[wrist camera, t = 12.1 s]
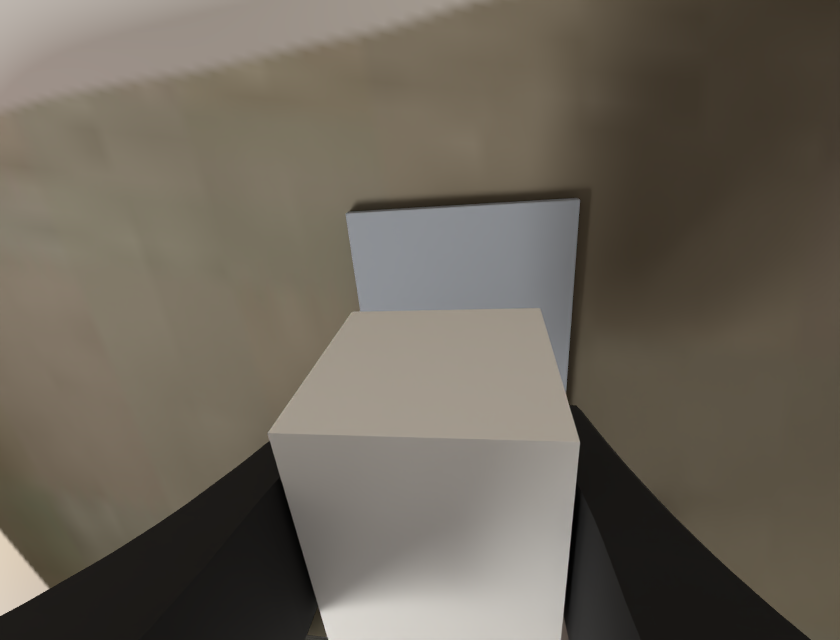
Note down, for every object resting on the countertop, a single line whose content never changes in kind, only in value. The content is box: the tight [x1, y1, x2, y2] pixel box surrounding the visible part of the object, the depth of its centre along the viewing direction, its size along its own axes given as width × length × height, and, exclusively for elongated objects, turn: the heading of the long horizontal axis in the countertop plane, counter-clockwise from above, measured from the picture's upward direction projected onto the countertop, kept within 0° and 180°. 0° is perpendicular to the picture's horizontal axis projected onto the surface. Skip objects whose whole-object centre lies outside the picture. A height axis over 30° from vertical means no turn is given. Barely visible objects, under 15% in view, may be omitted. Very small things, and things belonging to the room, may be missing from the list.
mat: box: [346, 198, 580, 393], centre depth 17 cm, size 8×10×1 cm
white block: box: [268, 308, 580, 640], centre depth 9 cm, size 4×8×4 cm, turn 5°
